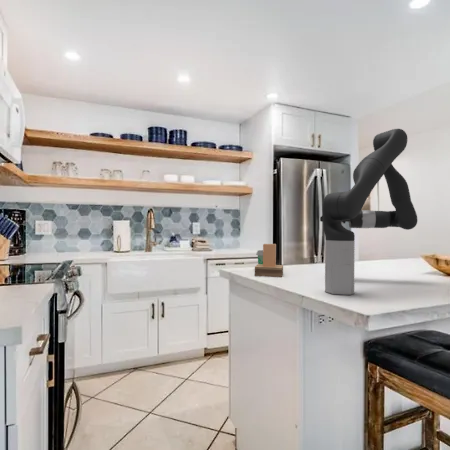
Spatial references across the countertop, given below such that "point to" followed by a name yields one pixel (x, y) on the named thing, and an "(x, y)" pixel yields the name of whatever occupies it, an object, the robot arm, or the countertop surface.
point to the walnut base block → (269, 271)
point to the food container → (260, 256)
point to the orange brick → (269, 255)
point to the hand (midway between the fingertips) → (321, 218)
